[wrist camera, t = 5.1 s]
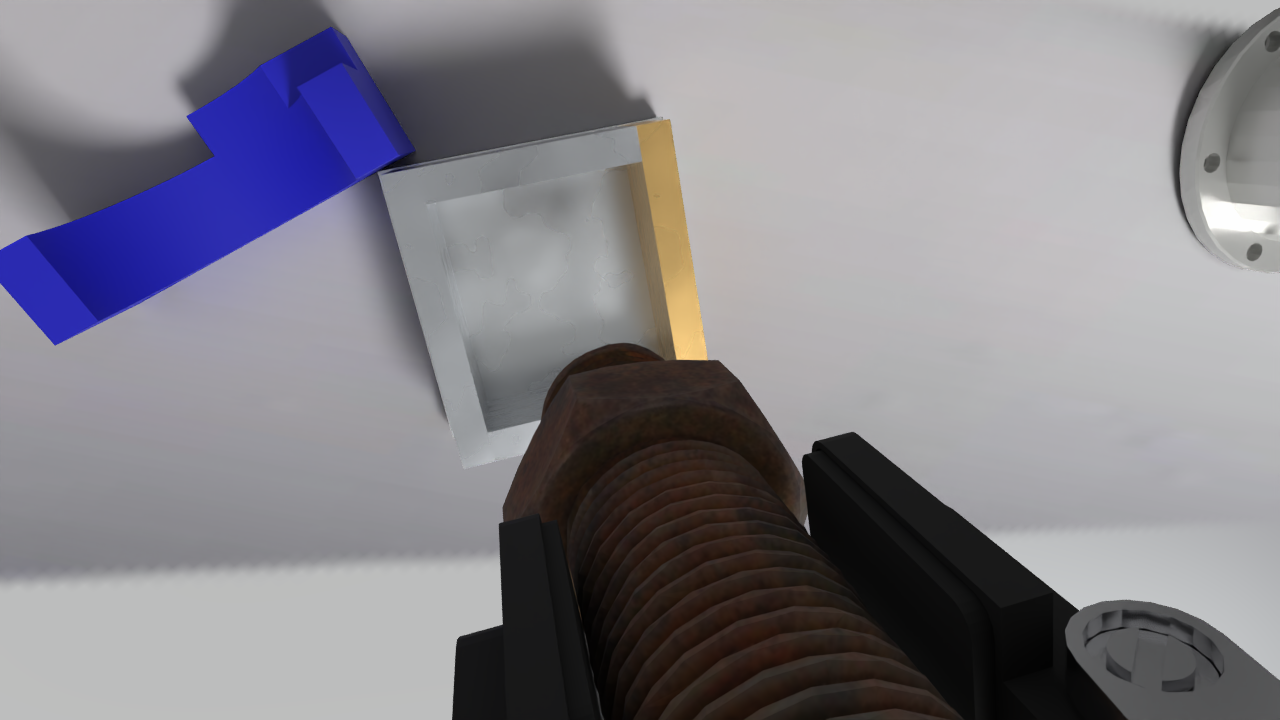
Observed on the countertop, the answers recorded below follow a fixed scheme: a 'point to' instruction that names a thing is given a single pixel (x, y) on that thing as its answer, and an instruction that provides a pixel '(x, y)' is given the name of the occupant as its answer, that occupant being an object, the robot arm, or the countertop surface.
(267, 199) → the cable clip
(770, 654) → the bolt
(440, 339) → the shallow open tray
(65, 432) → the countertop surface
